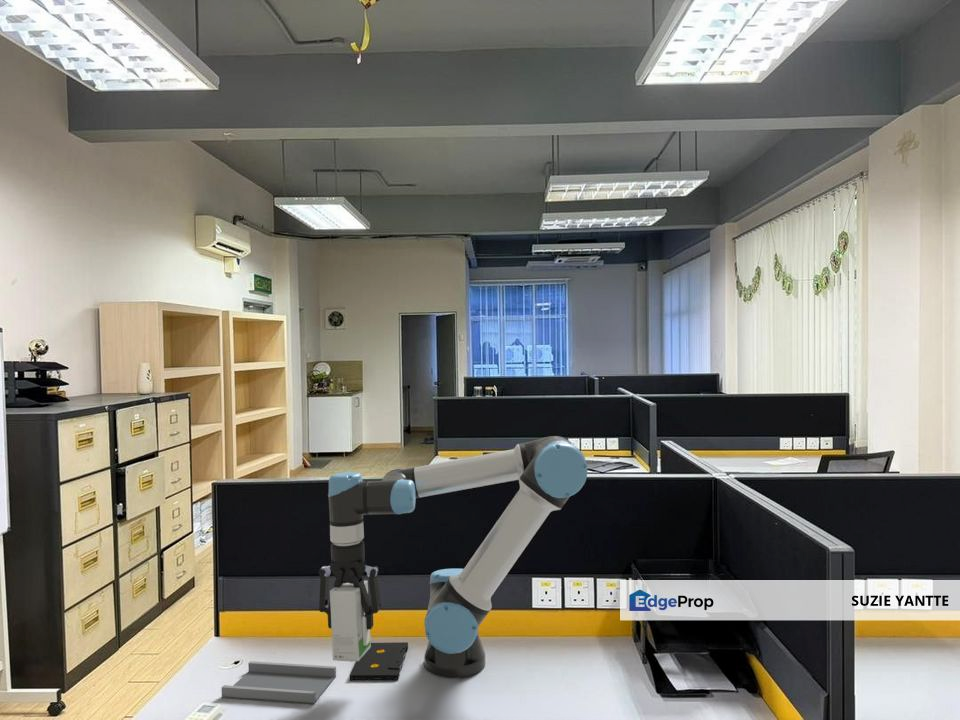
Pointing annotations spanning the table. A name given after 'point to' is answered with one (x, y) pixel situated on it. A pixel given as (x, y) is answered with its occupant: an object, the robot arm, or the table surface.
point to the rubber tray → (282, 683)
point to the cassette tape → (380, 662)
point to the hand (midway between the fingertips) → (351, 642)
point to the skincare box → (347, 623)
